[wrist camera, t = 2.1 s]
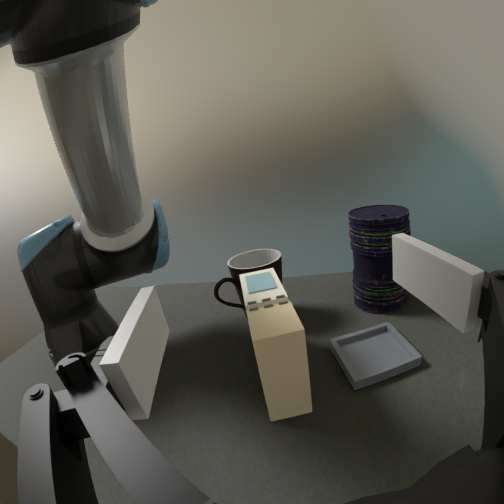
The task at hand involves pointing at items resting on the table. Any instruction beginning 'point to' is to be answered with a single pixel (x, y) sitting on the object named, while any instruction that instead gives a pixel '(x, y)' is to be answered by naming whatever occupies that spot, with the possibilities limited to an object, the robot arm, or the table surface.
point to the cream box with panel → (262, 288)
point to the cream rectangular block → (281, 359)
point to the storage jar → (377, 257)
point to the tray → (374, 354)
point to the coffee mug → (249, 270)
